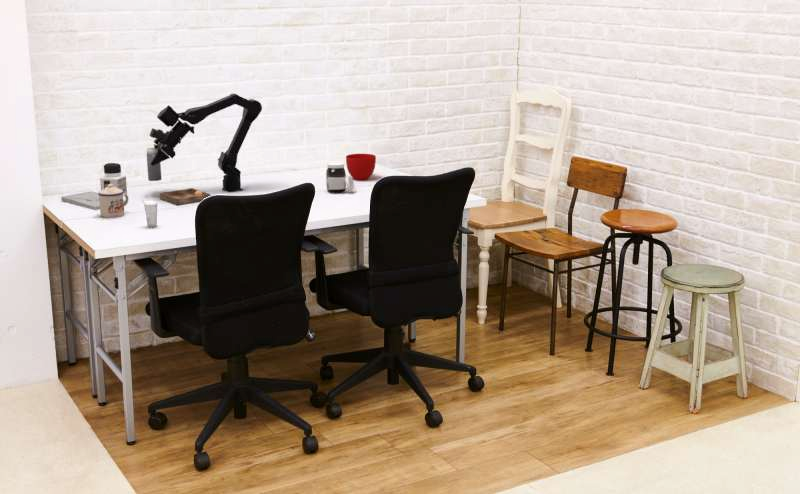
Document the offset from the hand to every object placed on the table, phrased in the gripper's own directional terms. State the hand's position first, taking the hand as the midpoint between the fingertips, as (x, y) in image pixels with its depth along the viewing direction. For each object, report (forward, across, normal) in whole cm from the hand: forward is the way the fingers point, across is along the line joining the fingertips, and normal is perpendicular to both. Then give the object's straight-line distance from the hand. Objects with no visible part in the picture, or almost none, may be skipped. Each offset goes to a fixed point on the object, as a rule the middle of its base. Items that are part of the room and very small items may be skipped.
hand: (150, 163), depth 414 cm
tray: (+2, +11, +17) cm, 21 cm away
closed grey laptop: (+26, +2, -6) cm, 27 cm away
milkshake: (+16, +50, +4) cm, 52 cm away
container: (+20, -8, 0) cm, 21 cm away
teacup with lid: (+22, +26, -3) cm, 34 cm away
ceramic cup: (-54, -4, +74) cm, 92 cm away
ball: (-2, +14, +20) cm, 25 cm away
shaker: (+4, 0, +6) cm, 7 cm away
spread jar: (-42, +20, +62) cm, 77 cm away
